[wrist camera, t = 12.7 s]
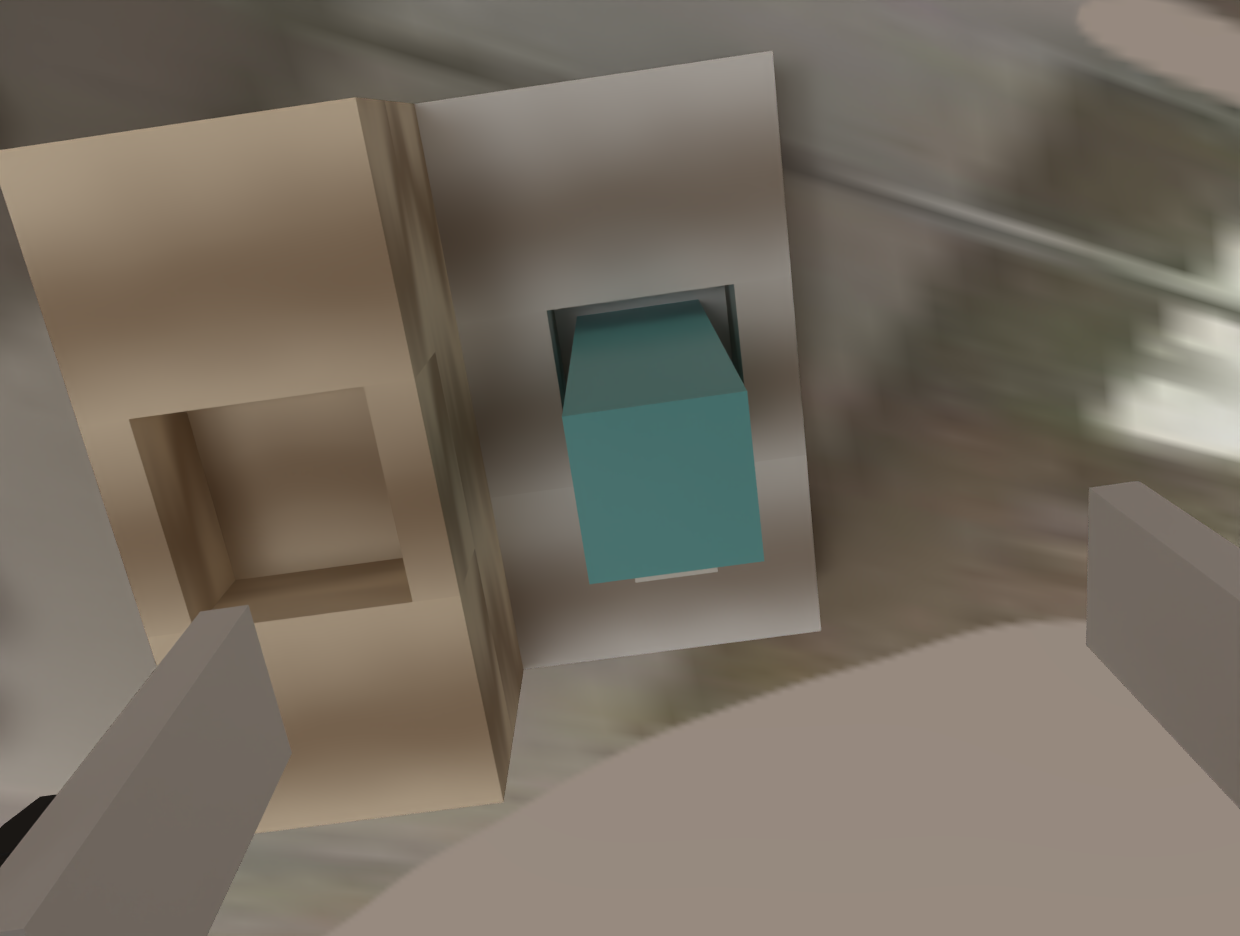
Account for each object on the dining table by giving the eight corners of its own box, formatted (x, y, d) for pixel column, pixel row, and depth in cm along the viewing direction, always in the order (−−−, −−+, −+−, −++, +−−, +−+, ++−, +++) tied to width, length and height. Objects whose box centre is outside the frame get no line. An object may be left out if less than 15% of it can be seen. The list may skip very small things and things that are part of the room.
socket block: (189, 143, 32) (-11, 151, 22) (752, 59, 32) (824, 27, 21) (321, 642, 38) (213, 838, 27) (799, 579, 37) (873, 755, 27)
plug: (576, 316, 33) (561, 416, 22) (698, 299, 33) (747, 391, 22) (598, 451, 35) (593, 611, 23) (713, 435, 34) (767, 588, 23)
